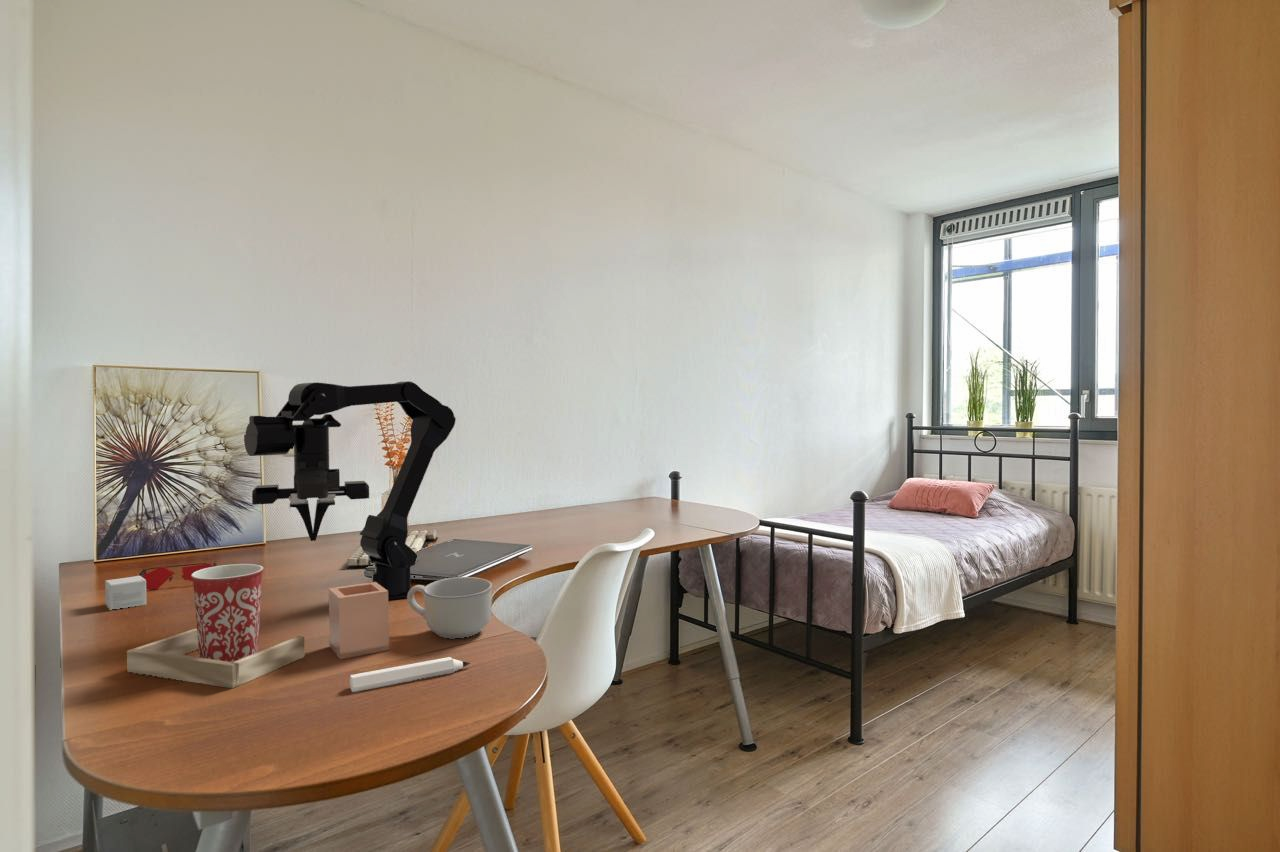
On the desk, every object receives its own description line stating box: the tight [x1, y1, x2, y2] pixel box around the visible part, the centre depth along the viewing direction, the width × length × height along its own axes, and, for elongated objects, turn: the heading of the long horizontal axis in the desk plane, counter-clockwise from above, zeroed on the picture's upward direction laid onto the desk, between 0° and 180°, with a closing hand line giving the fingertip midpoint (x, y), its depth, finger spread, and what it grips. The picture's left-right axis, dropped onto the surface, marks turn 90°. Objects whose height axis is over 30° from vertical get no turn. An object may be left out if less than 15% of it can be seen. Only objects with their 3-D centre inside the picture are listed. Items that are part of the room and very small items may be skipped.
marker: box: [349, 656, 471, 693], centre depth 98 cm, size 3×2×16 cm
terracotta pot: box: [328, 581, 390, 660], centre depth 111 cm, size 7×7×9 cm
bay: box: [126, 627, 306, 689], centre depth 104 cm, size 12×19×3 cm, turn 72°
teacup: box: [406, 576, 493, 640], centre depth 118 cm, size 14×11×8 cm
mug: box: [191, 563, 265, 662], centre depth 106 cm, size 13×9×14 cm
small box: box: [104, 575, 147, 611], centre depth 136 cm, size 6×6×5 cm
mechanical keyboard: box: [346, 529, 439, 570], centre depth 184 cm, size 38×19×3 cm, turn 12°
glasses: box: [138, 562, 218, 591], centre depth 155 cm, size 14×16×5 cm
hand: (313, 540), depth 130 cm, fingers closed
